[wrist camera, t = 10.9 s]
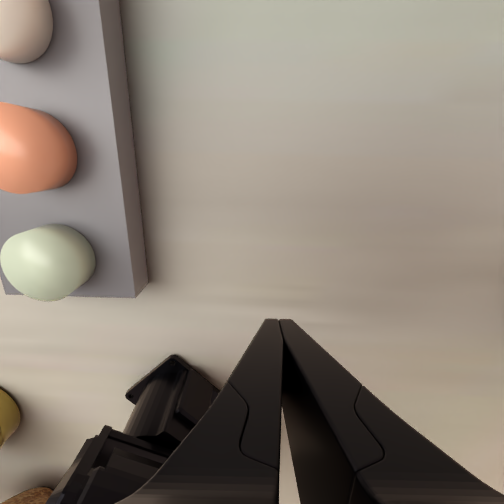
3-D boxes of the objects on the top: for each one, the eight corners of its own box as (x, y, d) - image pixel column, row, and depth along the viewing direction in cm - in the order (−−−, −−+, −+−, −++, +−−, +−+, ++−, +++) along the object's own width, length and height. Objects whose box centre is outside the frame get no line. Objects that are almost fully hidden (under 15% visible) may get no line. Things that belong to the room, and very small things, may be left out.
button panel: (148, 282, 21) (135, 297, 19) (33, 279, 21) (5, 294, 19) (116, -28, 15) (91, -62, 13) (-48, -34, 15) (-103, -70, 13)
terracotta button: (83, 190, 17) (61, 195, 15) (10, 188, 16) (-22, 192, 15) (69, 109, 15) (43, 103, 13) (-11, 107, 15) (-49, 100, 13)
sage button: (100, 287, 19) (83, 302, 17) (35, 285, 19) (11, 300, 17) (89, 224, 17) (69, 233, 15) (19, 222, 17) (-10, 230, 15)
